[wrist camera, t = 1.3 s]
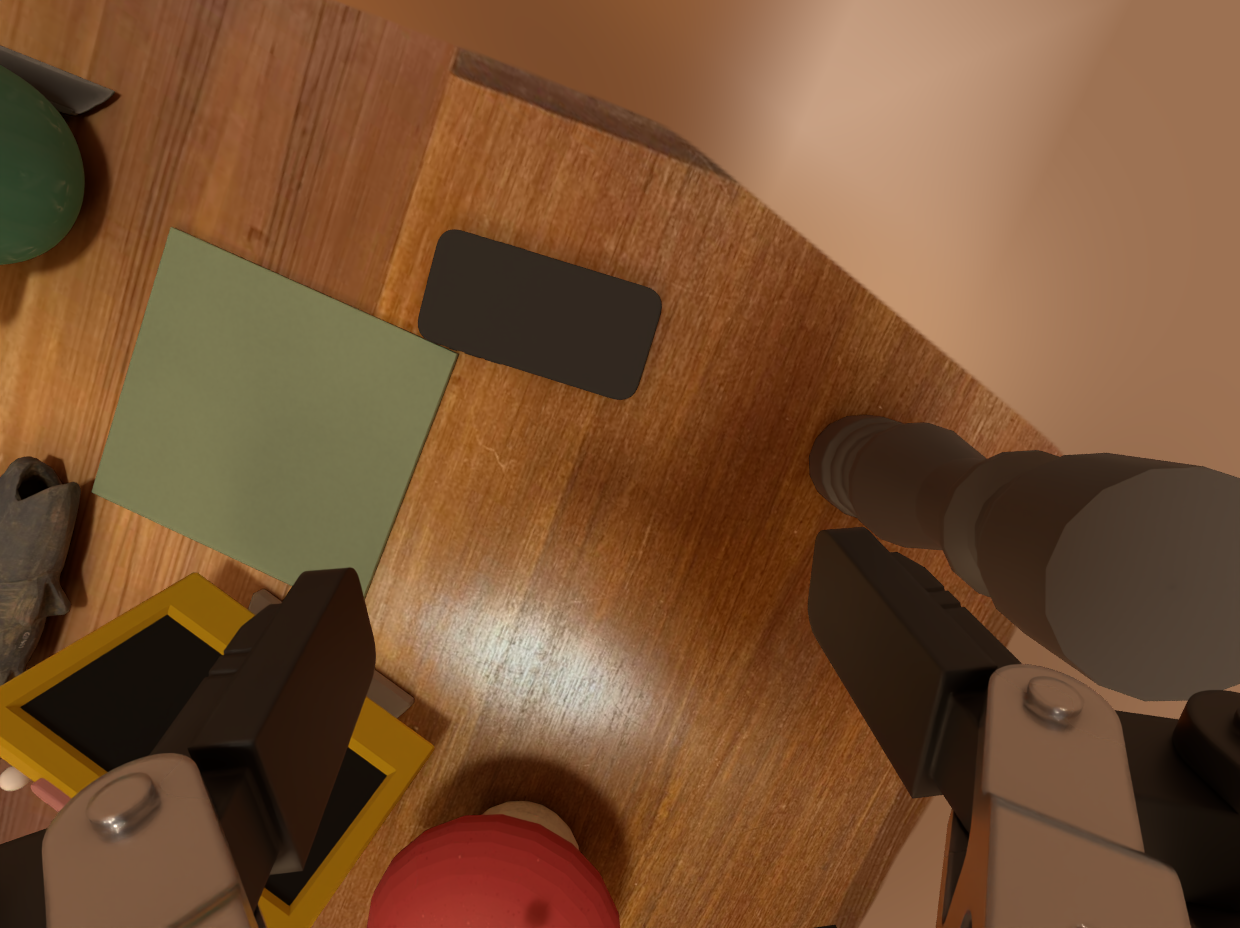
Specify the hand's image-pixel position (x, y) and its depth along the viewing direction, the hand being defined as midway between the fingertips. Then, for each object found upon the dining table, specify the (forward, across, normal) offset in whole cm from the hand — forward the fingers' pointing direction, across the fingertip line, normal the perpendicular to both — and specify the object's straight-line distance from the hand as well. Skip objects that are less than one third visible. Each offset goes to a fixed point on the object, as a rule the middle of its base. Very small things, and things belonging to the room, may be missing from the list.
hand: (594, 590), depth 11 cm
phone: (+32, +1, +1) cm, 32 cm away
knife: (+44, +35, -15) cm, 58 cm away
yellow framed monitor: (+28, +20, +26) cm, 42 cm away
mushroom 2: (+21, +5, +37) cm, 43 cm away
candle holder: (+25, -18, +10) cm, 32 cm away
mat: (+33, +21, +8) cm, 40 cm away
